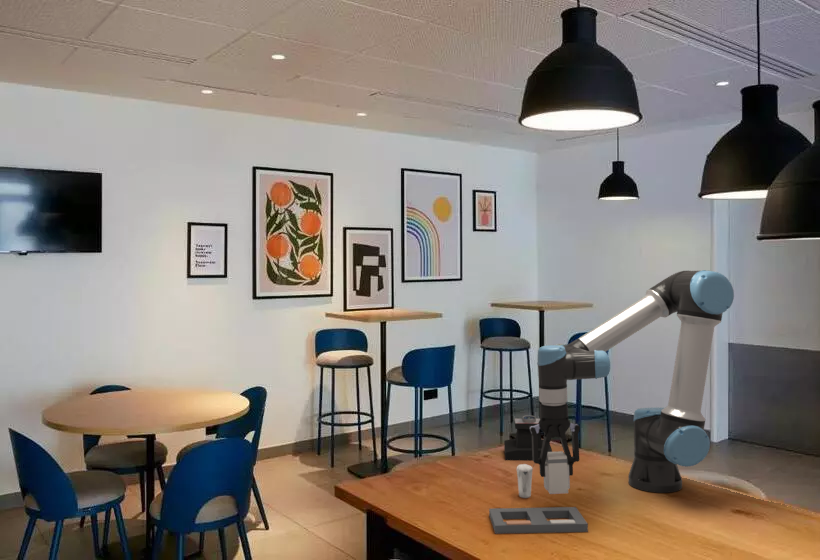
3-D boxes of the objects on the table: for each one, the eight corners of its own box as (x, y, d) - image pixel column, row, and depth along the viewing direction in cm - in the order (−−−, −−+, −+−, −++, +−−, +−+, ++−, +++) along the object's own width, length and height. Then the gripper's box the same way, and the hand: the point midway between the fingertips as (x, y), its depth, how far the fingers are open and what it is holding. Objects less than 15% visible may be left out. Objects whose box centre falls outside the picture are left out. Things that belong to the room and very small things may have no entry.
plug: (564, 487, 190) (562, 451, 189) (568, 493, 184) (567, 456, 184) (545, 488, 190) (544, 452, 189) (549, 494, 184) (548, 457, 184)
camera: (505, 422, 233) (503, 409, 247) (505, 463, 234) (503, 447, 249) (552, 422, 231) (548, 409, 246) (552, 464, 233) (548, 448, 247)
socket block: (575, 514, 182) (575, 505, 182) (587, 531, 170) (587, 522, 170) (489, 516, 182) (489, 507, 182) (495, 533, 170) (495, 524, 170)
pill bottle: (535, 499, 194) (535, 464, 194) (516, 498, 195) (516, 463, 195) (535, 494, 199) (535, 459, 198) (517, 493, 200) (516, 459, 200)
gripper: (582, 398, 190) (586, 481, 191) (518, 401, 190) (521, 484, 191) (590, 404, 183) (593, 490, 183) (522, 407, 183) (526, 493, 183)
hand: (556, 487), depth 187 cm, fingers closed on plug, 5 cm apart
